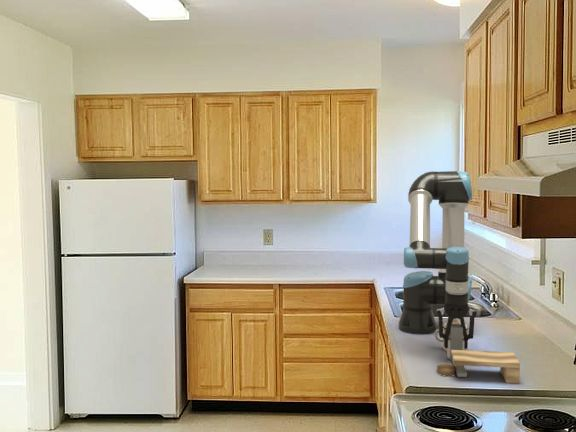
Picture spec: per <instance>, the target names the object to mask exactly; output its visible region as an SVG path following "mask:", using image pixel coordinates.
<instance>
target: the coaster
mask: <svg viewBox="0 0 576 432" xmlns="http://www.w3.org/2000/svg"><path fill="white" fill-rule="evenodd" d="M437 372H438V373H439V374H441V375H445V376H444V377H447V376H450V377H453V376H452V375H454V376H456V375H457V374H456V367H455V366H454V365H453V364H450V363H441V364H438V365H437V366H436V373H437ZM438 373H437V374H438ZM439 374H438V375H439ZM455 374H456V375H455ZM441 375H440V376H441Z"/></svg>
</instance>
